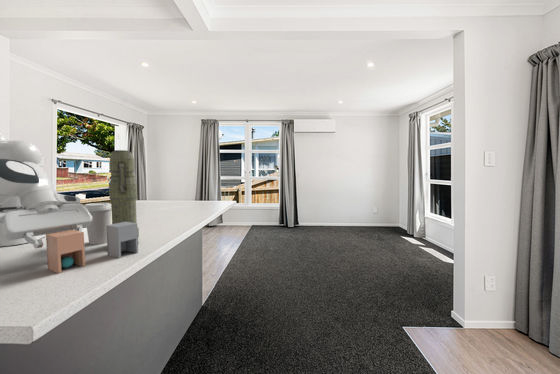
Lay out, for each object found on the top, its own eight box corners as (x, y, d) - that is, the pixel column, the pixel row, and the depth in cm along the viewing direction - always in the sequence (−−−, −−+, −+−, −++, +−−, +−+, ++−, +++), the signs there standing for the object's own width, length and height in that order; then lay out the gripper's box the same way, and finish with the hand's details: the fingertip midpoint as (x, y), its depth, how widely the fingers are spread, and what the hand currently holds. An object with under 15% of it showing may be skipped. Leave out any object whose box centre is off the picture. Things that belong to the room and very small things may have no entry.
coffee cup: (99, 246, 96) (97, 205, 95) (77, 245, 98) (75, 205, 97) (119, 239, 105) (118, 202, 104) (99, 238, 107) (98, 202, 106)
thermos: (136, 239, 106) (133, 152, 104) (141, 246, 96) (137, 150, 94) (110, 243, 101) (106, 151, 98) (112, 250, 91) (108, 149, 89)
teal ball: (57, 268, 75) (56, 257, 75) (70, 264, 78) (70, 254, 78) (63, 270, 73) (62, 259, 73) (76, 266, 76) (75, 255, 76)
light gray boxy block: (107, 255, 87) (106, 225, 86) (126, 249, 92) (125, 221, 91) (119, 258, 83) (117, 227, 83) (138, 252, 89) (137, 223, 88)
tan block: (47, 269, 74) (45, 234, 74) (74, 262, 80) (72, 229, 79) (58, 273, 71) (56, 237, 71) (85, 265, 77) (83, 232, 76)
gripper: (-4, 203, 69) (13, 244, 65) (84, 196, 87) (102, 229, 83) (-9, 218, 72) (7, 259, 67) (78, 209, 89) (95, 241, 85)
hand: (60, 242), depth 75 cm, fingers open, 8 cm apart
